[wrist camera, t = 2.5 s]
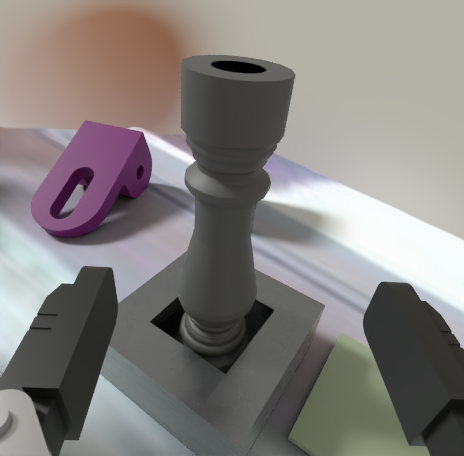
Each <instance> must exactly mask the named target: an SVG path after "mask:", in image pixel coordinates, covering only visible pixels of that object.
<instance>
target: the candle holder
mask: <svg viewBox="0 0 464 456" xmlns="http://www.w3.org/2000/svg"><path fill="white" fill-rule="evenodd" d="M294 79H295V73H294V72H293V71H292V70H291V69H289V68H287V67H285V66H282V65H280V64H276V63H272V62H268V61H265V60H259V59H253V58H247V57H238V56H228V55H203V56H192V57H189V58H186V59H183V61H182V63H181V128H182V129H183V131H184V132H185V133H186V134H187V136H186V142H187V144H188V146H189V147H190V148H191V150H192V153H193V157H194V159H195V160H196V161H195V162H194V163H193V164H192V165H190V166H189V167H188V168H187V169H186V172H185V185H186V186H187V188H188V189H189V191H190V192H191V194H193V195H194V196H195V198H196V200H195V228H194V232H193V235H192V238H191V241H190V244H189V247H188V250H187V253H186V256H185V259H184V262H183V265H182V268H181V271H180V274H179V278H178V285H177V295H178V297H179V300H180V302H181V305H182V307H183V309H184V311H185V313H184V315H183V316H182V318H181V323H180V327H179V329H178V335H177V341H178V342H179V343H181V344H182V345H184V346H185V347H187V348H188V349H190V350H191V351H192V352H194V353H195V354H197V355H198V356H200V357H201V358H203V359H204V360H205V361H207V362H208V363H210V364H211V365H213V366H214V367H216V368H217V369H218V370H220V371H221V372H223V373H224V374H227V372H228V371H229V370H230V368H231V367H232V366H233V364H234V363H235V362H236V360H237V359H238V358H239V356H240V355H241V354H242V353H243V351H244V350H245V349H246V347H247V344H248V342H247V328H246V320H245V318H244V316H245V315H246V314H247V313H249V311H250V310H251V308H252V306H253V303H254V301H255V299H256V296H257V285H256V277H255V269H254V261H253V252H252V244H251V232H252V226H253V219H254V213H255V207H256V203H257V202H258V201H259V200H261V199H263V198H264V197H265V195H266V194H267V192H268V190H269V189H270V185H271V181H270V178H269V175H268V173H267V172H266V171H265V170H264V169H263V168H262V167H263V166H264V165H265V163H266V162H267V159H268V158H269V157H270V156H271V155H272V154H273V152H274V151H275V149H276V148H277V143H279V142H280V140H281V139H282V137H283V136H284V132H285V127H286V121H287V116H288V111H289V105H290V100H291V95H292V89H293V84H294Z"/></svg>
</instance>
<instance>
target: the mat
mask: <svg viewBox="0 0 464 456" xmlns="http://www.w3.org/2000/svg"><path fill="white" fill-rule="evenodd" d="M288 440H289V441H291V442H292V443H293V444H295V445H296V446H298V447H299V448H300V449H302V450H303V451H305V452H306V453H307V454H309V455H310V456H430V454H429V451H428V449H427V447H426V446H409V444H408V442H407V439H406V437H405V434H404V432H403V429H402V427H401V424H400V422H399V419H398V417H397V414H396V411H395V409H394V406H393V404H392V401H391V399H390V396H389V394H388V391H387V389H386V386H385V384H384V381H383V379H382V376H381V374H380V371H379V369H378V366H377V364H376V361H375V359H374V356H373V354H372V351H371V349H370V348H368V347H367V346H365V345H363V344H361V343H359V342H357V341H355V340H354V339H352V338H350V337H348V336H346V335H344V334H342V333H340V335H339V337H338V339H337V341H336V343H335V345H334V347H333V349H332V351H331V353H330V355H329V357H328V359H327V361H326V363H325V365H324V367H323V369H322V371H321V373H320V375H319V377H318V379H317V381H316V383H315V385H314V387H313V389H312V391H311V393H310V395H309V397H308V399H307V401H306V403H305V405H304V407H303V409H302V411H301V413H300V415H299V417H298V419H297V421H296V423H295V425H294V427H293V429H292V431H291V433H290V435H289V437H288Z"/></svg>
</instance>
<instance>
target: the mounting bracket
mask: <svg viewBox="0 0 464 456" xmlns="http://www.w3.org/2000/svg"><path fill="white" fill-rule="evenodd" d="M151 171H152V158H151V154H150V151H149V148H148V145H147V142H146V140H145V137H144V134H143V132H140V131H135V130H130V129H125V128H120V127H115V126H110V125H105V124H101V123H95V122H91V121H85V122H84V123H83V125H82V126H81V127H80V129H79V130H78V132H77V133H76V135H75V136H74V137H73V139H72V140H71V142H70V143H69V145H68V146H67V148H66V149H65V151H64V152H63V154H62V155H61V156H60V158H59V159H58V161H57V162H56V164H55V165H54V167H53V168H52V170H51V171H50V173H49V174H48V175H47V177H46V178H45V180H44V181H43V183H42V184H41V186H40V187H39V189H38V190H37V192H36V193H35V195H34V197H33V200H32V204H31V211H32V215H33V217H34V219H35V221H36V222H37V223H38V224H39V225H40V226H41V227H42V228H43V229H44V230H46V231H47V232H48V233H50V234H52V235H54V236H58V237H65V238H74V237H79V236H82V235H84V234H87V233H88V232H90V231H92V230H93V229H95V228H96V227H97V226H98V225H99V224H100V223H101V222H102V221H103V220H104V219H105V217H106V215H107V214H108V212H109V210H110V208H111V206H112V204H113V202H114V201H115V199H116V197H117V195H118V193H119V194H122V195H126V196H130V197H135V198H137V197H138V196H139V195H140V194H141V193H143V192H144V191H145V190H146V188H147V186H148V183H149V180H150V177H151ZM77 184H80V185H84V186H88V188H87V189H86V191H85V193H84V194H83V196H82V198H81V199H80V201H79V203H78V204H77V206H76V208H75V209H74V211H73V212H72V214H70V215H69V216H68V217H66V218H63V219H57V218H58V215H59V213H60V212H61V210H62V208H63V207H64V205H65V204H66V202H67V200H68V199H69V197H70V196H71V194H72V192H73V191H74V189H75V188H76V186H77Z"/></svg>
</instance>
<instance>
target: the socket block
mask: <svg viewBox="0 0 464 456" xmlns="http://www.w3.org/2000/svg"><path fill="white" fill-rule="evenodd" d="M186 253H187V252H185V253H184V254H183V255H181V256H180V257H179V258H177V259H176V260H175V261H173V262H172V263H171V264H169V265H168V266H167V267H166V268H164V269H163V270H162V271H160V272H159V273H158V274H156V275H155V276H154V277H152V278H151V279H150V280H149V281H147V282H146V283H145V284H143V285H142V286H141V287H139V288H138V289H137V290H135V291H134V292H133V293H131V294H130V295H129V296H128V297H126V298H125V299H124V300H122V301H121V302H120V303H118V315H117V321H116V325H115V328H114V331H113V334H112V337H111V340H110V343H109V347H108V350H107V353H106V356H105V359H104V362H103V365H102V368H101V371H100V374H101V375H102V376H104V377H105V378H106V379H107V380H108V381H109V382H111V383H112V384H113V385H114V386H115V387H117V388H118V389H119V390H120V391H121V392H123V393H124V394H125V395H126V396H127V397H128V398H130V399H131V400H132V401H133V402H134V403H136V404H137V405H138V406H139V407H140V408H141V409H143V410H144V411H145V412H146V413H147V414H149V415H150V416H151V417H152V418H153V419H154V420H156V421H157V422H158V423H159V424H160V425H162V426H163V427H164V428H165V429H166V430H168V431H169V432H170V433H171V434H172V435H173V436H175V437H176V438H177V439H178V440H179V441H181V442H182V443H183V444H184V445H185V446H186V447H188V448H189V449H190V450H191V451H192V452H194V453H195V454H196V455H197V456H247V454H248V452H249V451H250V449H251V447H252V445H253V444H254V442H255V440H256V438H257V437H258V435H259V433H260V431H261V430H262V428H263V426H264V424H265V423H266V421H267V419H268V418H269V416H270V414H271V412H272V411H273V409H274V407H275V405H276V404H277V402H278V400H279V398H280V397H281V395H282V393H283V391H284V390H285V388H286V386H287V385H288V383H289V381H290V379H291V378H292V376H293V374H294V372H295V371H296V369H297V367H298V365H299V364H300V362H301V360H302V359H303V357H304V355H305V353H306V352H307V350H308V348H309V346H310V344H311V341H312V339H313V336H314V333H315V331H316V328H317V325H318V323H319V320H320V317H321V315H322V312H323V309H324V307H325V305H324V304H322V303H320V302H318V301H316V300H314V299H312V298H310V297H308V296H306V295H304V294H302V293H300V292H298V291H296V290H294V289H293V288H291V287H289V286H287V285H285V284H283V283H281V282H279V281H277V280H275V279H273V278H271V277H269V276H267V275H265V274H263V273H262V272H260V271H258V270H256V269H255V277H256V285H257V296H256V299H255V301H254V303H253V306H252V308H251V310H250V311H249V313H247V314H246V315H245V316H244V318H245V320H246V328H247V341H249V342H250V343H249V345H248V346H247V347H246V349H245V350H244V351H243V353H242V354H241V355H240V356H239V358H238V359H237V360H236V362H235V363H234V364H233V366H232V367H231V368H230V370H229V371H228V372H227V374H224V373H223V372H221V371H220V370H218V369H217V368H216V367H214V366H213V365H211V364H210V363H208V362H207V361H205V360H204V359H203V358H201V357H200V356H198V355H197V354H195V353H194V352H192V351H191V350H190V349H188V348H187V347H185V346H184V345H182V344H181V343H179V342H178V341H177V335H178V329H179V327H180V323H181V318H182V316H183V315H184V313H185V311H184V309H183V307H182V305H181V302H180V300H179V297H178V295H177V285H178V278H179V274H180V271H181V268H182V265H183V262H184V259H185V256H186Z"/></svg>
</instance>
